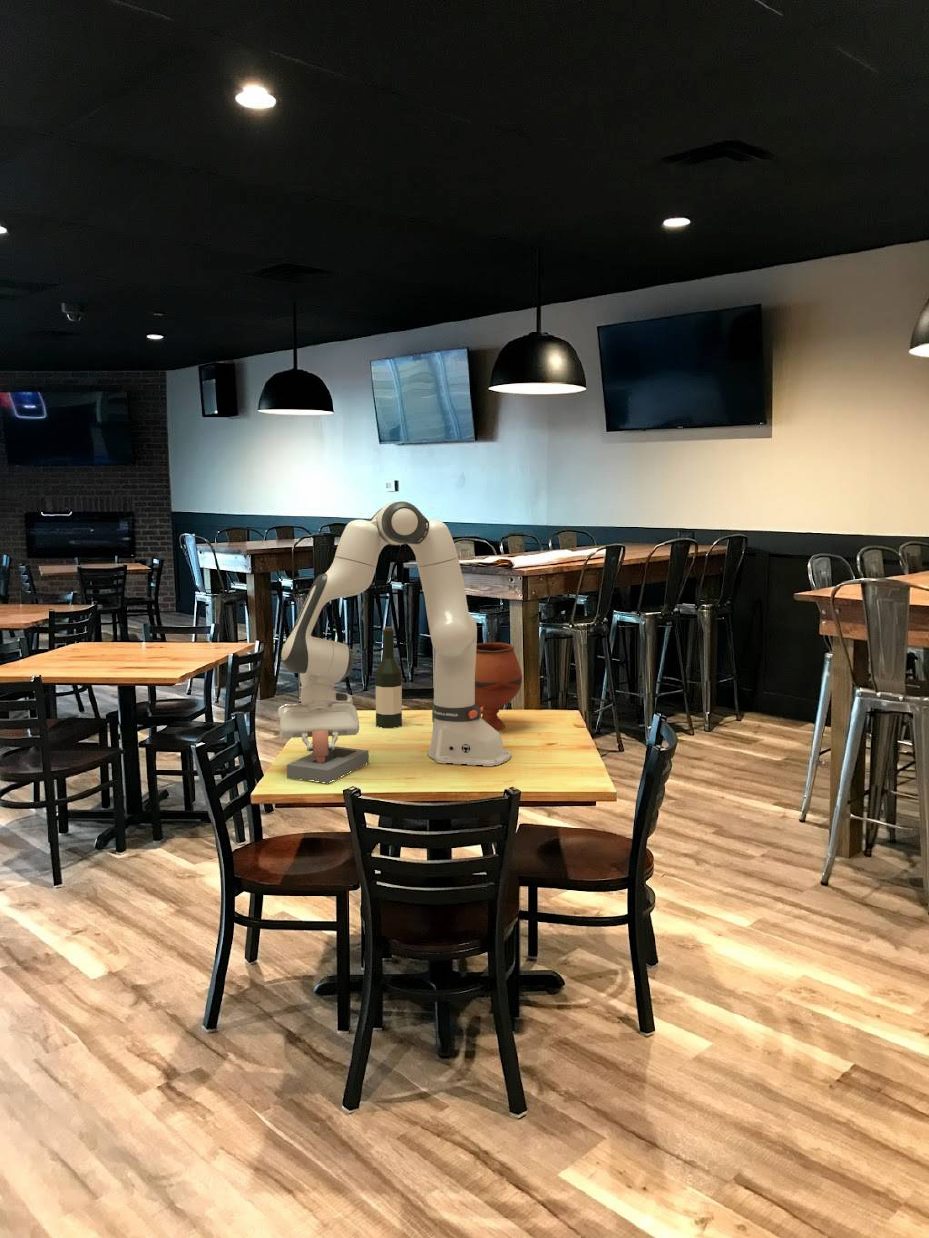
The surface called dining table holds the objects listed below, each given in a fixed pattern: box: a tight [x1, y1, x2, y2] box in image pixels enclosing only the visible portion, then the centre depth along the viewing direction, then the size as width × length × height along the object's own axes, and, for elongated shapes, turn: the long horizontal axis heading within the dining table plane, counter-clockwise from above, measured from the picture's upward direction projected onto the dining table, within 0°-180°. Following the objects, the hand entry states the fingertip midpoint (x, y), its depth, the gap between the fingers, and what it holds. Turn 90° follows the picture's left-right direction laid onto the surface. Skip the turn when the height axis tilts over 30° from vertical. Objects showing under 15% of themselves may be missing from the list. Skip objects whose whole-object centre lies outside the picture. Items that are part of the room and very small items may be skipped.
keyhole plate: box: [286, 745, 370, 783], centre depth 258 cm, size 20×12×4 cm, turn 156°
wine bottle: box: [374, 626, 403, 729], centre depth 304 cm, size 8×8×30 cm
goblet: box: [475, 642, 523, 731], centre depth 302 cm, size 19×19×25 cm
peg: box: [311, 729, 329, 764], centre depth 255 cm, size 5×5×11 cm
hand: (320, 749), depth 254 cm, fingers closed on peg, 4 cm apart
